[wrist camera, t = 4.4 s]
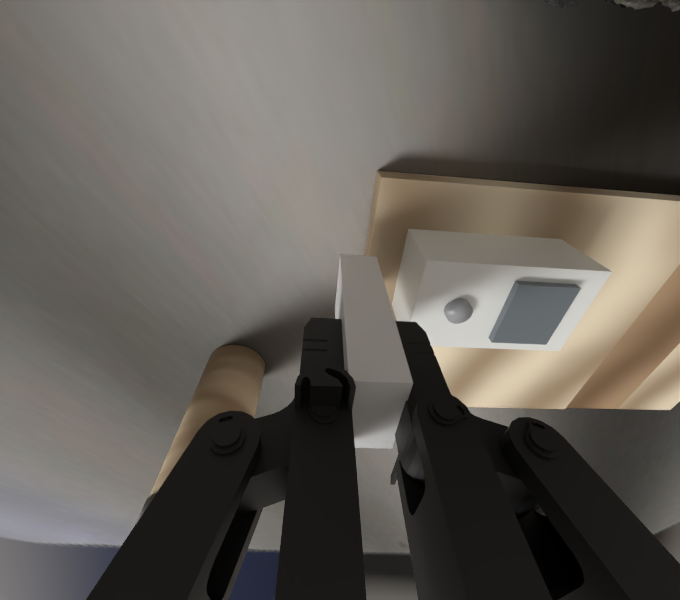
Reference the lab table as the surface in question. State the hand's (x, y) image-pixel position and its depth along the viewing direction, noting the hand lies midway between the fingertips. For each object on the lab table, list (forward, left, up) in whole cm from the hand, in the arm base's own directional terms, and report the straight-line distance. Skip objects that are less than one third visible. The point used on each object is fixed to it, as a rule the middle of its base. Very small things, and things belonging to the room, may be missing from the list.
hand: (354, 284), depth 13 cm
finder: (+6, 0, -1) cm, 6 cm away
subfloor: (+12, -3, -3) cm, 13 cm away
